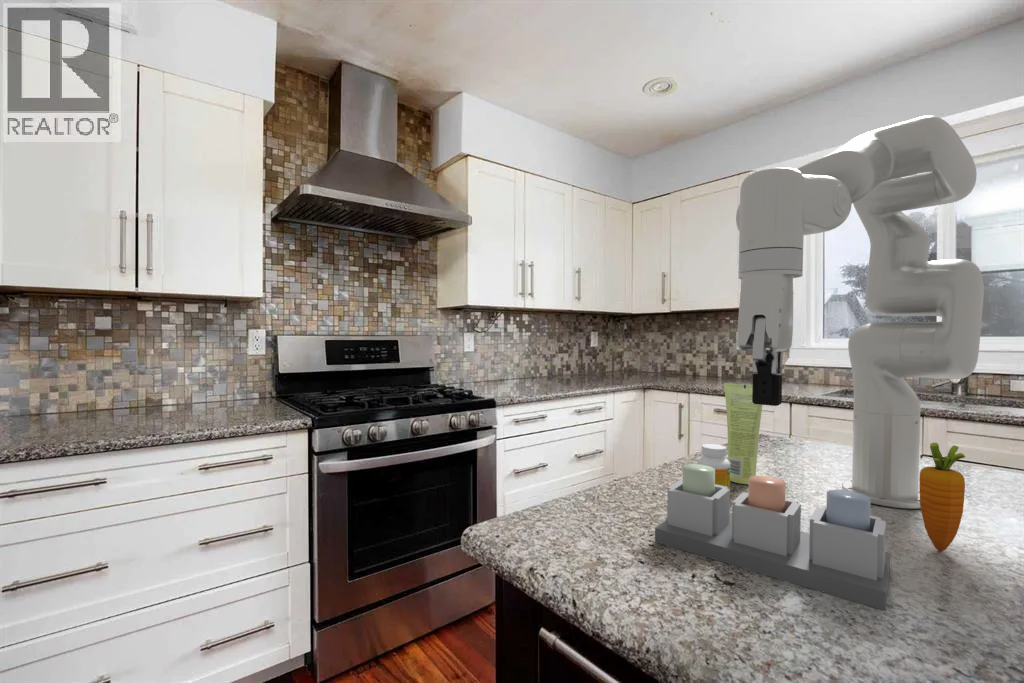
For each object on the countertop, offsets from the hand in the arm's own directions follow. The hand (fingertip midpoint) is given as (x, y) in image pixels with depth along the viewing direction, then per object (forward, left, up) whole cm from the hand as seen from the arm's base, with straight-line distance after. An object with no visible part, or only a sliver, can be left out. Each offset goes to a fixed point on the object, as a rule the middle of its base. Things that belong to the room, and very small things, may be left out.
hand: (766, 404), depth 64 cm
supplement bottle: (-17, -12, -21) cm, 29 cm away
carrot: (-17, +18, -21) cm, 32 cm away
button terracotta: (0, 0, -15) cm, 15 cm away
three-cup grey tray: (0, 0, -20) cm, 20 cm away
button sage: (0, -9, -15) cm, 18 cm away
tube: (-32, -11, -21) cm, 39 cm away
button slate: (0, +9, -15) cm, 18 cm away
